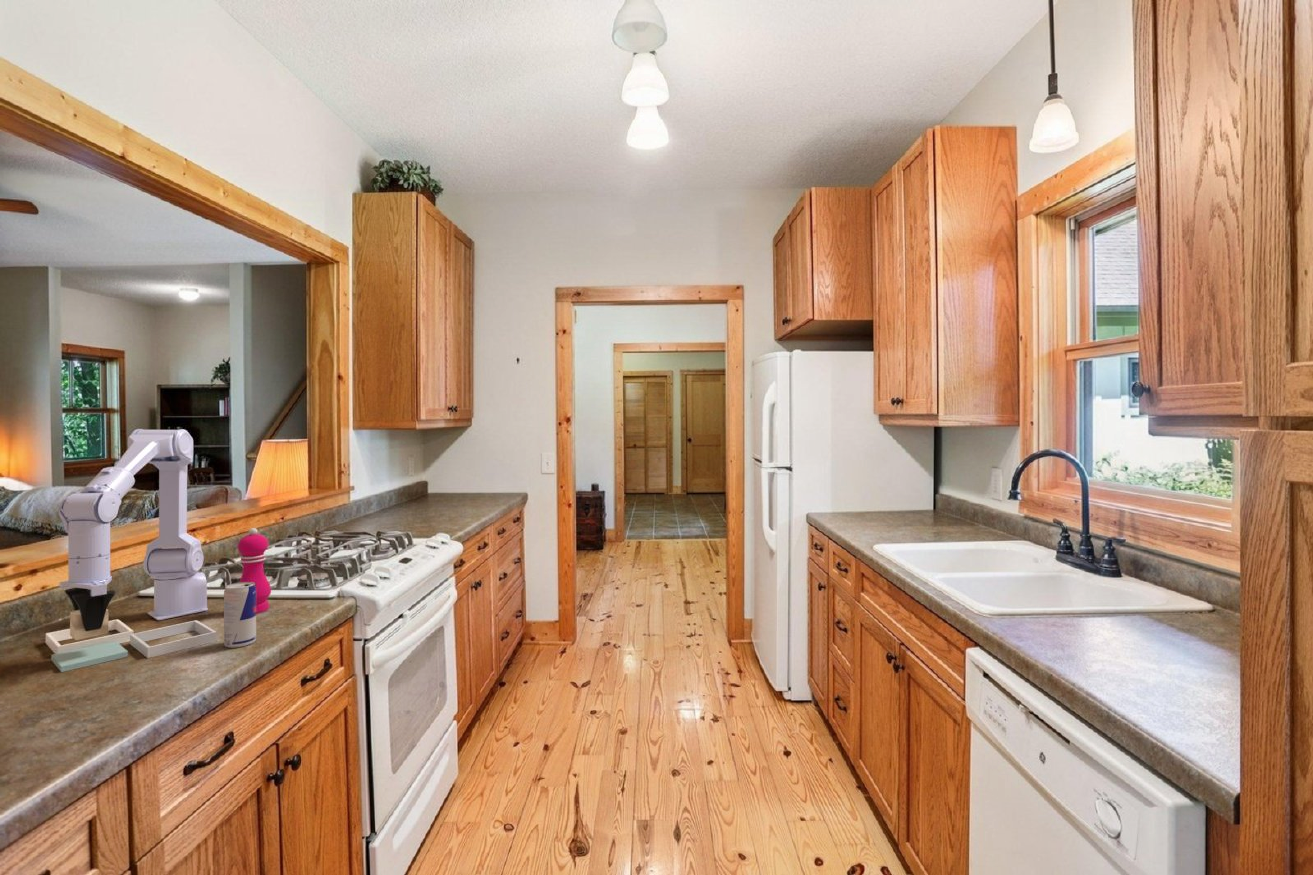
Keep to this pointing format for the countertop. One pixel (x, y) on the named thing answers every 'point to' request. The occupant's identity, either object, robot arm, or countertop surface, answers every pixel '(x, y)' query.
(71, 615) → the letter cube
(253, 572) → the pepper mill
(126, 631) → the white tray
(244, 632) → the energy drink
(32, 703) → the countertop surface
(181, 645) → the white rectangular frame
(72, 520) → the robot arm
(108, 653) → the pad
